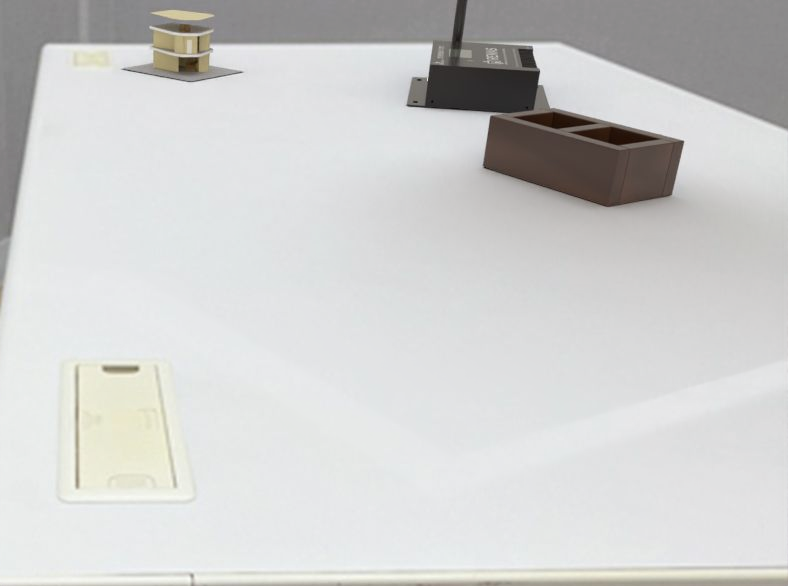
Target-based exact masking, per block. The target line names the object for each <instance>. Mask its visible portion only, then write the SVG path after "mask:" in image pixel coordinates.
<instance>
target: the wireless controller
mask: <svg viewBox="0 0 788 586" xmlns="http://www.w3.org/2000/svg"><path fill="white" fill-rule="evenodd" d="M467 8H468V0H456V5H455V12H454V13H455V14H454V22H453V28H452V35H451V36H452V37H451V40H439V39H433V40H432V47H431V54H430V59H429V60H430V61H429V69H428V77H424V76H423V77H419V76H412V77H411V82H410V87H409V90H408V91H409V92H408V96H407V101H406V106H409V107H419V108H420V107H422V108H437V109H451V108H459V109H458V110H466V109H467V110H468V111H482V112H499V113H516V112H524V111H532V110H541V109H549V108H551V107H550V104H549V101H548V97H547V93H546V91H545V88H544V87H545V86H544V85H543V84H539V80H540V75H541V69H540V68H539V67H538V66H537V62H536V59H535V56H534V47H533V45H525V44H506V43H505V44H504V43H486V42H471V41H463V38H464V29H465V22H466V15H467ZM427 78H428V81H427Z"/></svg>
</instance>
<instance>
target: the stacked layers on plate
mask: <svg viewBox="0 0 788 586" xmlns="http://www.w3.org/2000/svg"><path fill="white" fill-rule="evenodd" d="M150 14H153V15H157V16H160V17H164V18H168V19H172V20H180V21H202V20H205V19H209V18H213V17H215V15H214V14H212V13H205V12H194V11H187V10H179V9H169V10H168V9H167V10H160V11H152V12H150ZM149 30H153V31H152V32H153V34H152V35H153V38H152V39H153V41H152V42H153V43H152V44H153V45H149V50H152V51H153V53H152V54H153V55H152V57H153V58H152V62H151V63H146V64H140V65H139V64H138V65H133V66H127V67H123V68H120V69H121V70H127V71H132V72H137V73H142V74H149V75H153V76H160V77H163V78H164V77H165V78H171V79H174V80H176V79H177V80H180V81H181V80H182V81H186V82H196V81H201V80H206V79H210V78H217V77H223V76H226V75H232V74H237V73H243V72H244V71H242V70H238V69H232V68H227V67H222V66H214V65H210V54H212V53H214V48H212V47H211V33H214V32H215V28H214V27H211V26H205V25H197V24H189V23H180V22H166V23H160V24H159V23H158V24H152V25H149Z"/></svg>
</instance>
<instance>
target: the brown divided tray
mask: <svg viewBox="0 0 788 586" xmlns="http://www.w3.org/2000/svg"><path fill="white" fill-rule="evenodd" d="M684 145H685V140H683V139H680V138H675V137H671V136H667V135H663V134H660V133H655V132H651V131H647V130H643V129H641V128H640V129H639V128H635V127H632V126H627V125H625V124H624V125H623V124H620V123H615V122H611V121H608V120H603V119H600V118H595V117H593V116H588V115H584V114H581V113H580V114H579V113H575V112H572V111H568V110H564V109H560V108H556V107H550V108H549V109H541V110H532V111H524V112H516V113H511V112H506V113H501V114H492V115H490V116H489V121H488V128H487V135H486V141H485V149H484V155H483V163H482V167H483V166H484V167H483V168H485V167H486V169H488V168H489V170H491V169H493V170H492V171H494V170H496V171H495V172H497V171H498V173H501V174H504V175H507V176H510V177H514V178H517V179H520V180H524V181H527V182H529V183H533V184H535V185H539V186H541V187H546V188H549V189H552V190H555V191H557V192H561V193H564V194H567V195H570V196H574V197H577V198H580V199H583V200H586V201H590V202H592V203H596V204H599V205H603V206H605V207H612V206H617V205H623V204H628V203H635V202H640V201H644V200H645V201H646V200H651V199H656V198H661V197H663V198H664V197H668V196H672V195H673V192H674V187H675V183H676V180H677V176H678V170H679V167H680V162H681V159H682V153H683V150H684Z"/></svg>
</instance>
